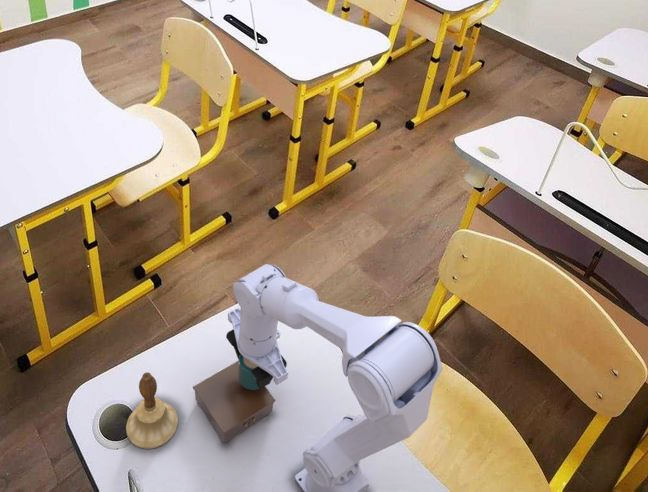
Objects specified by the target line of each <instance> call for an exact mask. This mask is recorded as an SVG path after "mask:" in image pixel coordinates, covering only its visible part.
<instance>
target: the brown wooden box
mask: <svg viewBox="0 0 648 492" xmlns="http://www.w3.org/2000/svg"><path fill="white" fill-rule="evenodd" d="M238 365H239V360H236V361H235V362H233V363H232V364H230V365H229V366H226V367H224V368H223V369H222V370H220V371H218V372H215V374H212V375H211V376H209V377H207V378H205V379H204V380H202V381H200V382H199V383H197V384H196V385H194V386H193V387H192V389H193V390H194V399H195V401H196V403H197V404H198V406H199V407H200V408H201V410H202V412H203V413H204V415H205V416H206V418H207V419H208V421H209V423H210V424H211V425H212V427H213V428H214V430H215V431H216V433H217V435H218V436H219V438H220V439H221V441H222V442H223V444H225V443H226V442H228V441H230V440H231V439H233V438H234V437H236V436H237V435H239V434H240V433H242V432H243V431H245V430H246V429H247V428H250V427H251V426H252V425H254V424H255V423H257V422H259V421H260V420H261V419H263V418H265V417H266V416H267V415H269V414H271V413H272V412H273V408H274V403H275V402H276V398H274V396H273V395H272V394H271V392H270V391H269V389H268V388H267V386H265V387H263V388H262V389H257V390H249V389H246V388H245V387H243V386H242V385H241V384H240V382H239V380H238Z"/></svg>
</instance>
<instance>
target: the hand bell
mask: <svg viewBox="0 0 648 492" xmlns="http://www.w3.org/2000/svg"><path fill="white" fill-rule="evenodd" d="M157 390H158V384H157V380H156V378H155V377H154V376H153V375H152V373H150V372H148V371H147V372H144V373H143V374H142V376H141V378H140V380H139V382H138V391H139V394H140V395H141V397H142V398H143V400H141V401H140V402H139V403H138V404H137V406H136V408H134V410H133V411H132V412H131V413H130V415H129V416H128V418H127V421H126V425H125V433H126V436H127V438H128V440H129V442H131V443H132V444H133V445H134V446H136V447H138V448H140V449H145V450H146V449H147V450H150V449H155V448H159V447H161V446H163V445H165V444H166V443H168V442H169V441H170V440H171V439H172V438H173V437H174V435H175V434H176V433H177V430H178V426H179V417H178V413H177V411H176V409H175V408H174V407H173V406H172V405H170V404H169V403H167V402H165V401H163V400H162V399H160V398H158V397H155V395H156V393H157Z"/></svg>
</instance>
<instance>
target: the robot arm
mask: <svg viewBox="0 0 648 492" xmlns="http://www.w3.org/2000/svg"><path fill="white" fill-rule="evenodd" d="M232 292H233V296H234V298H235V300H236V303H237V305H238V306H239V307H236V308H234V309H232V310H231V311H229V312H227V321H228V322H229V323H230V324H231V325H232V329H231V330H228V331H227V333H226V335H225V338H226V340H228V343H229V344H230V345H231V346H232V347H233V349H234V352H235V355H236V357H237V359H238V360H237V361H239V355H240V353H241V355H242V356H243V357H245V358H246V359H248V360H249V361H251V362H252V363H254V364H256V365H257V366H258V367H256V368H254V369H253V370H251V373H252V374H253V375H254V377H255V378H256V383H257V386H258V387H259V389H262V388H263V387H267V386H268V385H270V384H271V382H272V381H273V383H274V384H275V385H276V386H279V384H281V383H283V382H284V381H286V380H288V376H289V371H288V370H287V365H288V362H287V360H286V359H285V358H284V356H283V355H282V354H281V351H280V348H279V344H278V341H277V340H278V339H280V337H281V332H280V331H279V329H278V323H281V324H283V325H285V326H287V327H289V328H291V329H292V330H302V329H305V328H308V329H310V330H312V331H313V332H315V333H317V334H318V336H321V337H322V338H324V339H325V340H327V341H328V342H330V343H331V344H333V345H334V346H336V347H337V348H339V349H341V351H342V358H341V366H342V367H341V368H342V372H343V375H344V376H345V378H347V381H348V385H349V387H350V390H351V392H352V393H353V395H354V396H355V398H356V401H357V402H358V404H359V406H360V408H361V410H362V412H363V415H362V414H358V415H353V414H345V416H343V418H342V420H340V422H339V423H337V424H336V425H335V426H334V427H333V428H331V430H329V431H328V432H327V433H326V434H324V436H322V437H321V438H320V439H319V440H318V441H316V442H315V444H313V445H312V446H311V447H310V448H308V449H305V451H303V453H302V462H303V466H304V468H302V470H301V471H299V472H297V473H296V474H295V476H294V479H295V481H296V482H297V484H298V485H299V487H300V488H301V489H302V491H303V492H367V491H368V489H369V487H370V484H369V482H368V481H367V479H366V478H365V476H364V474H363V472H362V470H361V467H360V461H362V460H364V459H366V458H368V457H370V456H372V455H374V454H376V453H379V452H381V451H383V450H385V449H387V448H389V447H392V446H394V445H396V444H398V443H400V442H403V441H404V440H407V439H408V438H410V437H411V436H412V435H413V434H414V433H415V432H416V431H418V430H419V428H420V427H421V426H422V425H423V424H424V423H425V422H426V421H427V419H428V416H429V412H430V411H429V410H430V406H431V401H432V396H433V391H434V386H435V384H436V382H437V380H438V378H439V377H440V375H441V374H442V371H443V363H442V360H441V356H440V353H439V350H438V347H437V344H436V342H435V340H434V338H433V336H431V334H430V333H428V331H427V330H425V328H423V327H421V326H420V325H418V324H416V323H413V322H411V321H404V322H403V320H402V319H401V318H399V317H397V316H395V315H383V316H382V315H380V316H379V315H378V316H367V315H363V314H360V313H357V312H354V311H351V310H347V309H344V308H341V307H338V306H335V305H333V304H329V303H327V302H323V301H321V300H320V298H319V295H318V293H317V292H316V291H315V290H314V289H313V288H311V287H308V286H306V285H304V284H302V283H300V282H297V281H295V280H293V279H291V278H288V277H287V275H286V274H285V273H284V271H283V270H282V269H281V268H280V267H278V266H277V265H275V264H269V263H265V264H263V265H262V266H259V267H258V268H256V269H254V270H253V271H251V272H249V273H248V274H246V275H244V276H243V277H241V278H239V279H238V280H237V281H235V282H234V283H233V284H232ZM401 322H402V323H401Z"/></svg>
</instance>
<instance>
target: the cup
mask: <svg viewBox="0 0 648 492" xmlns="http://www.w3.org/2000/svg"><path fill="white" fill-rule="evenodd" d="M238 361H239V365H238V380H239V382H240V384H241V385H242V386H243V387H245V388H246V389H249V390H257V389H259V387H258V386H257V383H256V378H255V377H254V375H253V374H252V373H251V370H253V369H254V368H256V367H258V366H257V365H256V364H254V363H252V362H251V361H249V360H248V359H246V358H245V357H243V356H242V355H241V353H240V355H239V360H238Z"/></svg>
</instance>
